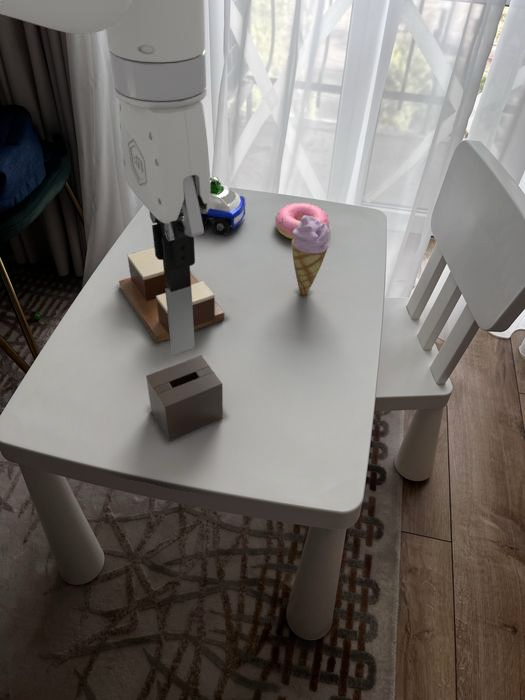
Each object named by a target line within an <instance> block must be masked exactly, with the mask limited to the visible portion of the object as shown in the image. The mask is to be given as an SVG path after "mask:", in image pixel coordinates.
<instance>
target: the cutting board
mask: <svg viewBox="0 0 525 700" xmlns="http://www.w3.org/2000/svg"><path fill="white" fill-rule="evenodd" d="M190 278H191V285H192V284H195V283H199V282H200V281H199V280H198V279H197V278H196V277H195V275H193V273H192V272H191V271H190ZM118 283H119V289H120V290H121V291H122V293H123V294H124V296H125V298H126V299H127V301H128V302H129V303H130V305H131V307H132V308H133V309H134V311H135V312H136V314H137V316H138V317H139V318H140V320H141V322H142V323H143V324H144V326H145V327H146V329H147V330H148V332H149V334H150V335H151V337H152V338H153V340H154V341H155V342H156V344H159V343H162V342H164V341H167V340H170V335H169V334H168V333H167V331H166V330H165V328H164V327H163V325H162V324H161V323H160V321H159V317H158V308H157V300H156V299H153V300H149V301H146V300H145V298H144V297H143V295H142V294H141V292H140V291H139V290H138V288H137V287H136V285H135V284H134V282H133V281H132V279H131V276H130V277H127V278H124V279H121V280H120V279H119V280H118ZM224 320H225V311H224V310H223V309H222V307H220V305H218V303H217V302H216V301H215V319H214V320H211V321H208V322H205V323H203V324H200V325H197V326H194V331H195V330H198V329H201V328H204V327H207V326H209V325H212V324H216V323H218V322H221V321H224Z"/></svg>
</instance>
